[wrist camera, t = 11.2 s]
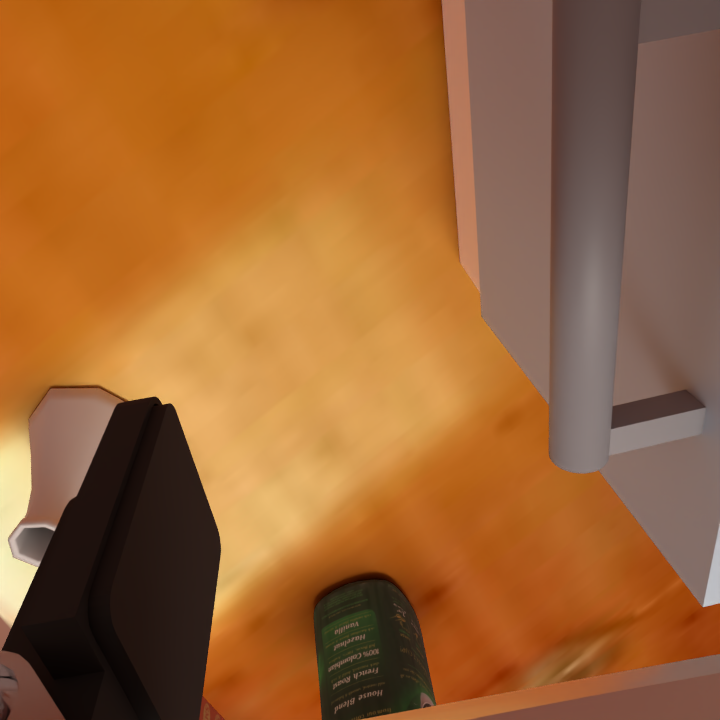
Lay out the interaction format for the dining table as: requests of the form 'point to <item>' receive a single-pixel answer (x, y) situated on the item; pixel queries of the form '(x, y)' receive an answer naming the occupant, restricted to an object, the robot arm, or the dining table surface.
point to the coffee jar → (370, 653)
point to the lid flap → (609, 244)
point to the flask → (59, 461)
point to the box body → (461, 134)
